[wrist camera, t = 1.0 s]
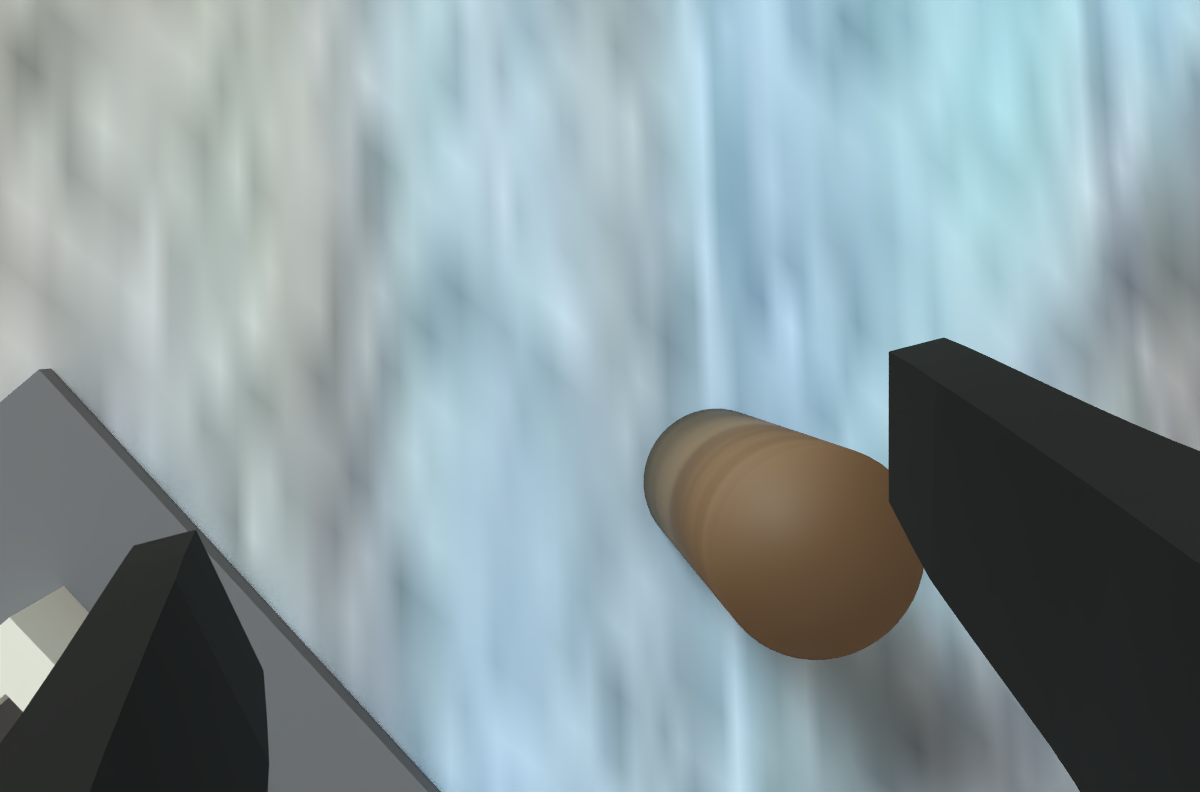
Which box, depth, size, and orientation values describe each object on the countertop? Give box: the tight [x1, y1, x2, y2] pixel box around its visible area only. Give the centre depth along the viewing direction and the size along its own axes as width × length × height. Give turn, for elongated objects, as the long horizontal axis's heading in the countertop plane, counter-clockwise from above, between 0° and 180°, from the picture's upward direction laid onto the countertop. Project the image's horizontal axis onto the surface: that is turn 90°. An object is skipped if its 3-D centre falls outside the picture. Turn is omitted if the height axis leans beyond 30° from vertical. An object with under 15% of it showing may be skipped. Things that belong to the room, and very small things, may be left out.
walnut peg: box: [644, 409, 923, 660], centre depth 20 cm, size 3×3×8 cm
